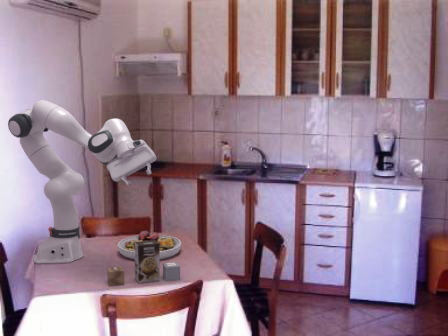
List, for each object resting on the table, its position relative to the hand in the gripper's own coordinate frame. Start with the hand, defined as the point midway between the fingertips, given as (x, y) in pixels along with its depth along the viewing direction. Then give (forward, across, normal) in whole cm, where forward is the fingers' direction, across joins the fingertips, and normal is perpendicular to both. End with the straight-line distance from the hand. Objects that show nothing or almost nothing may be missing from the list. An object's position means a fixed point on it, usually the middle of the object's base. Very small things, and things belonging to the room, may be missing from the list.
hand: (139, 179), depth 238 cm
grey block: (+38, -9, +20) cm, 44 cm away
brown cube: (+31, -29, +10) cm, 44 cm away
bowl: (+15, -20, +49) cm, 55 cm away
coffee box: (+35, -18, +16) cm, 42 cm away
